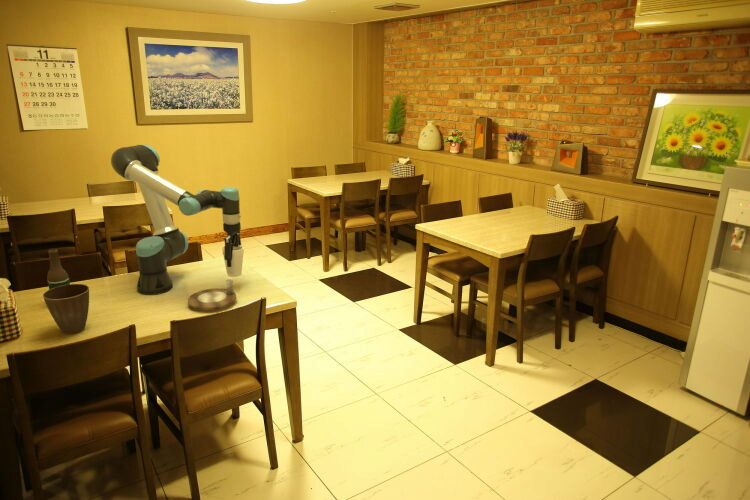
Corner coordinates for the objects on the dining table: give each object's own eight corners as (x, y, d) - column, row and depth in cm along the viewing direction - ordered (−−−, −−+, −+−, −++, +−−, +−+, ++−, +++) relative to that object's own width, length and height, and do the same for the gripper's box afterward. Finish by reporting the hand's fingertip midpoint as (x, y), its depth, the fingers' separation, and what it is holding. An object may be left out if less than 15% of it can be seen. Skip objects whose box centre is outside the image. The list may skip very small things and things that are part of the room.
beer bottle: (53, 301, 220) (43, 248, 213) (74, 298, 223) (64, 246, 216) (50, 308, 213) (40, 253, 206) (71, 305, 216) (62, 251, 209)
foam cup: (239, 279, 232) (237, 251, 227) (220, 276, 233) (218, 249, 229) (248, 272, 240) (247, 245, 236) (230, 269, 242) (228, 243, 238)
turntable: (195, 314, 207) (194, 297, 205) (182, 297, 223) (180, 281, 220) (243, 303, 218) (242, 287, 216) (227, 288, 234) (226, 273, 231)
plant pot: (58, 343, 185) (50, 302, 180) (44, 330, 194) (36, 291, 190) (101, 329, 196) (95, 291, 191) (86, 318, 205) (80, 280, 200)
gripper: (231, 229, 218) (234, 278, 225) (247, 216, 239) (249, 261, 246) (214, 228, 219) (217, 277, 226) (231, 215, 240) (234, 260, 247)
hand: (234, 269), depth 236 cm, fingers closed on foam cup, 9 cm apart
